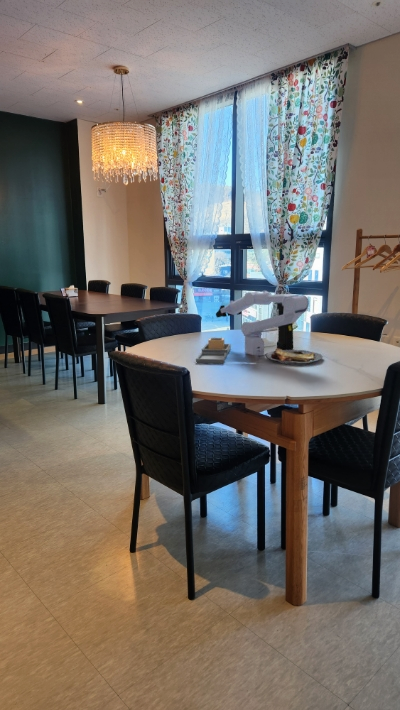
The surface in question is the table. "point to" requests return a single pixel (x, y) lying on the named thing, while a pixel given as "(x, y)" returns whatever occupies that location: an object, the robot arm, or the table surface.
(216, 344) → the module
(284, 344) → the portable radio
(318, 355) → the food plate
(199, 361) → the shallow grey tray
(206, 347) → the case
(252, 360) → the table surface
